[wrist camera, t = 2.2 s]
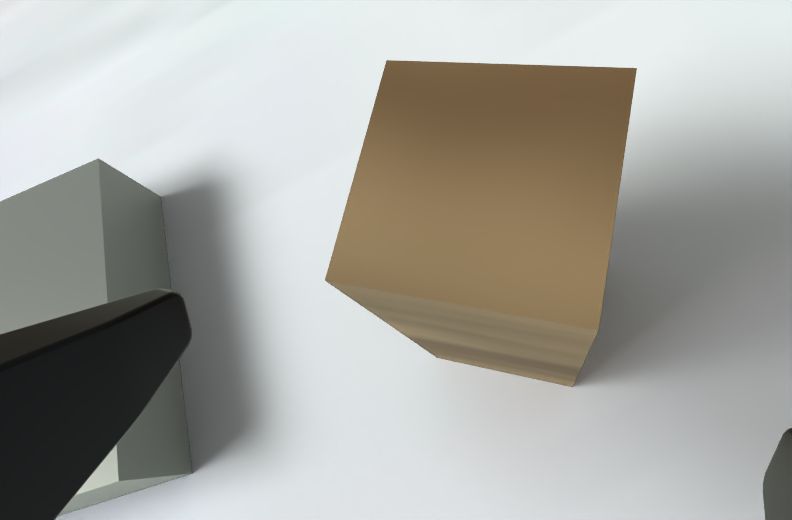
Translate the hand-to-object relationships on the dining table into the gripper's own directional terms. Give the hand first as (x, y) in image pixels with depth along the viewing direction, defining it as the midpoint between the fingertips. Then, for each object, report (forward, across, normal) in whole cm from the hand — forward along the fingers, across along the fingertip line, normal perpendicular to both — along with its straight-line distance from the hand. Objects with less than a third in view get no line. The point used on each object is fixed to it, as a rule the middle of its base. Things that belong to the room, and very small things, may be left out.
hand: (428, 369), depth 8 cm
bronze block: (+10, 0, +5) cm, 11 cm away
